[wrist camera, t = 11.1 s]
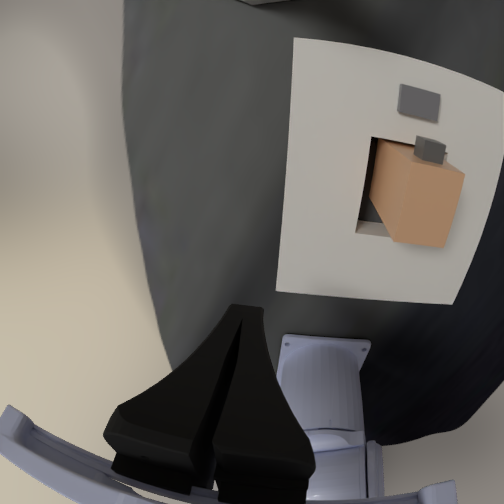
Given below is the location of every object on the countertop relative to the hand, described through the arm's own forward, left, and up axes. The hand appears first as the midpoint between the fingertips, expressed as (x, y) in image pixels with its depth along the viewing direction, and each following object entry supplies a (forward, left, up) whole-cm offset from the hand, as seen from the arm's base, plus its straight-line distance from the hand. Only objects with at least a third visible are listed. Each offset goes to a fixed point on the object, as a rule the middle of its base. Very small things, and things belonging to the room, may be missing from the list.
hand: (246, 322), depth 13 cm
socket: (+4, -8, -9) cm, 13 cm away
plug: (+5, -8, -10) cm, 13 cm away
